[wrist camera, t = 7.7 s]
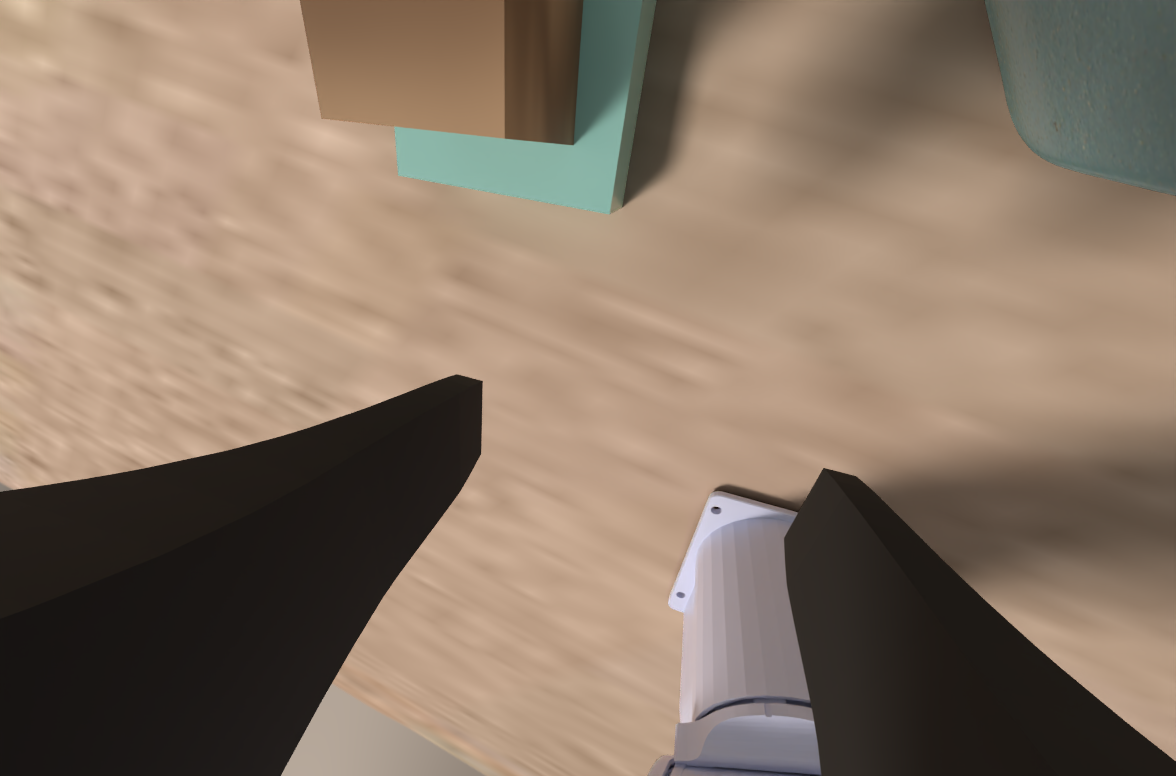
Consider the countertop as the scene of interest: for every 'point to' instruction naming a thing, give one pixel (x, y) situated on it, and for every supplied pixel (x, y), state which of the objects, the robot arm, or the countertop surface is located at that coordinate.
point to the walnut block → (449, 65)
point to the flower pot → (1093, 84)
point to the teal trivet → (547, 170)
